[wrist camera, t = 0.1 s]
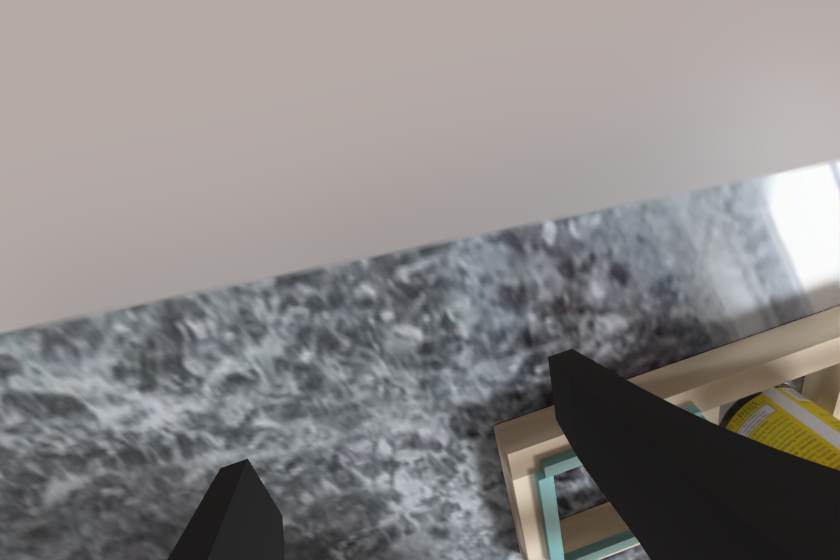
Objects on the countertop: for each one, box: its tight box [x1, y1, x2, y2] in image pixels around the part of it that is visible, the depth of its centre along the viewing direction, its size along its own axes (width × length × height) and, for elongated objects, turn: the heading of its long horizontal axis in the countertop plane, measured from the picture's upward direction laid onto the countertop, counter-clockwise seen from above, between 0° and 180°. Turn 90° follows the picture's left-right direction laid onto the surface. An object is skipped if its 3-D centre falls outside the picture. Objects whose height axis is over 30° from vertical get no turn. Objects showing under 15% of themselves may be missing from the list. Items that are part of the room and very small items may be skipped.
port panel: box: [493, 306, 840, 560], centre depth 27 cm, size 12×22×2 cm, turn 103°
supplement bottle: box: [718, 383, 840, 470], centre depth 24 cm, size 5×5×10 cm
